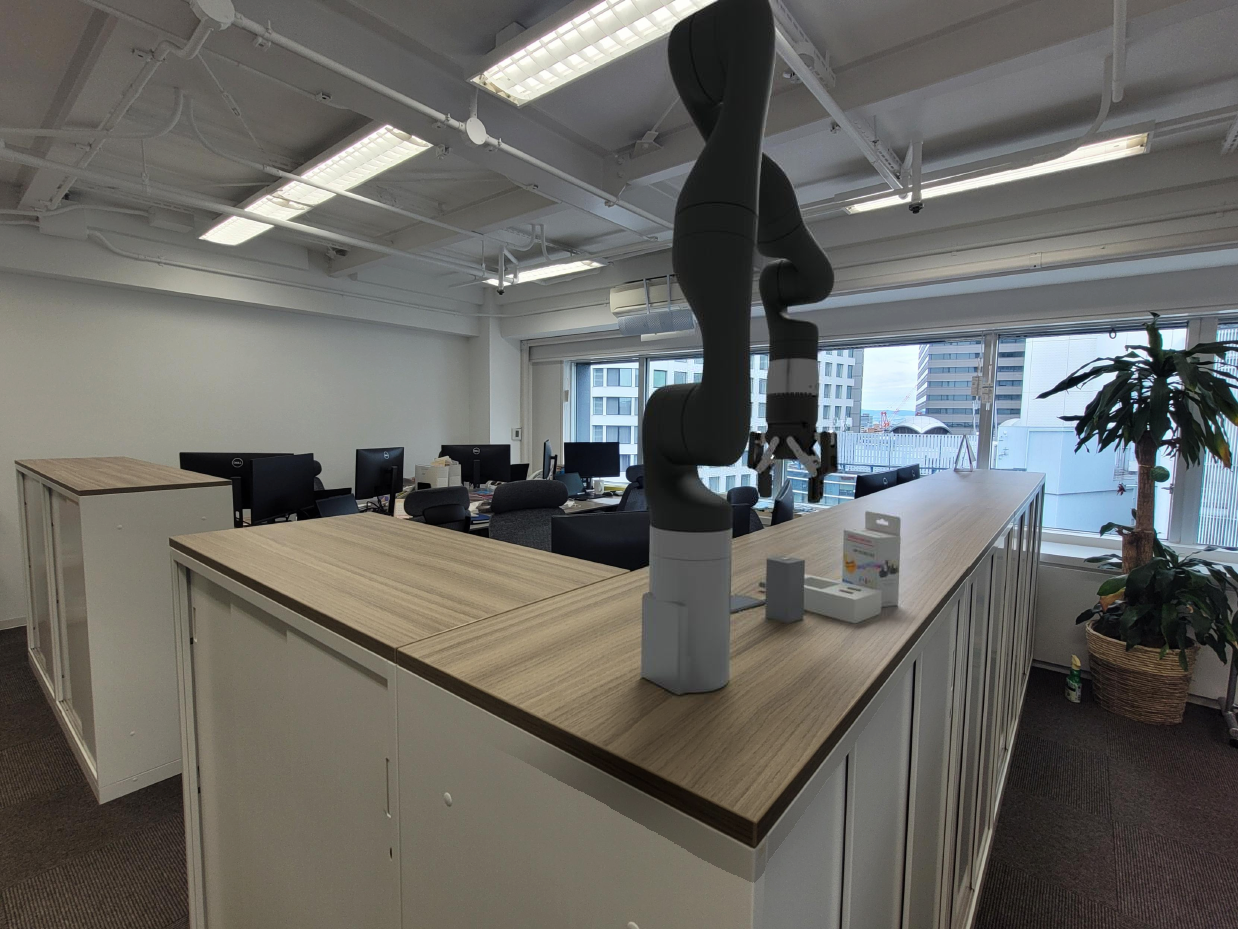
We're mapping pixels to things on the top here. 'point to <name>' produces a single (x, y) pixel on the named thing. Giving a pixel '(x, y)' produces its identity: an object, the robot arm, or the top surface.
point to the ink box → (874, 556)
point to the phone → (744, 603)
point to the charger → (785, 589)
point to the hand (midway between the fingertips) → (788, 500)
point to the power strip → (839, 599)
